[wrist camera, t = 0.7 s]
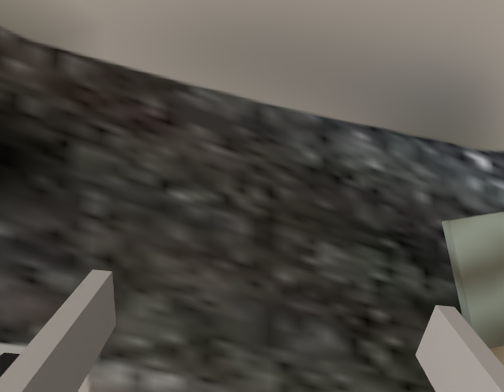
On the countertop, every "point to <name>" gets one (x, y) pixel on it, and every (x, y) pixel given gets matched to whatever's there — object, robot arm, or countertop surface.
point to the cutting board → (480, 274)
